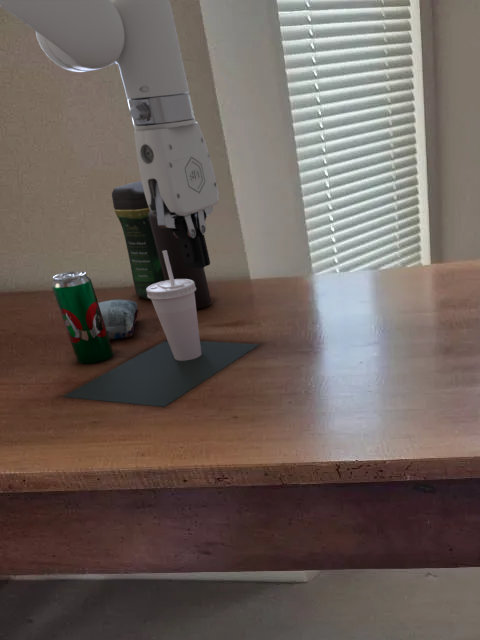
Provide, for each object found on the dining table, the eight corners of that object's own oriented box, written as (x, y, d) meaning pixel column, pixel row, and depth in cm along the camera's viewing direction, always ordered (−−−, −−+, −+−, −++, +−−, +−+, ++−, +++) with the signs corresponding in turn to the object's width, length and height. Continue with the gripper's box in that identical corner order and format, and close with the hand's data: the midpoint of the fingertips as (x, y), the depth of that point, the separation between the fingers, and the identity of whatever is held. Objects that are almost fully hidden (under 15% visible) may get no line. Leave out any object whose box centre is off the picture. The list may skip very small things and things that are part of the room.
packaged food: (78, 351, 109) (67, 318, 106) (88, 328, 119) (79, 297, 116) (138, 343, 110) (129, 310, 108) (143, 321, 120) (135, 290, 117)
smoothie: (189, 366, 98) (161, 257, 90) (154, 361, 101) (125, 255, 93) (220, 350, 103) (196, 245, 95) (187, 346, 105) (161, 244, 98)
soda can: (113, 352, 107) (87, 268, 101) (116, 362, 103) (89, 275, 97) (77, 359, 106) (49, 274, 99) (79, 370, 102) (49, 282, 95)
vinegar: (216, 306, 124) (187, 176, 112) (176, 314, 121) (143, 182, 110) (206, 298, 129) (178, 172, 118) (168, 305, 126) (135, 178, 115)
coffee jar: (164, 301, 129) (134, 186, 119) (130, 299, 132) (98, 187, 122) (198, 286, 136) (173, 176, 126) (165, 284, 139) (138, 177, 129)
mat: (63, 400, 93) (62, 396, 92) (169, 342, 109) (168, 338, 109) (165, 410, 87) (164, 406, 87) (260, 347, 104) (259, 344, 104)
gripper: (149, 118, 84) (188, 281, 94) (221, 106, 95) (249, 253, 105) (97, 122, 86) (141, 280, 96) (174, 109, 98) (206, 253, 108)
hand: (197, 266), depth 101 cm, fingers closed
